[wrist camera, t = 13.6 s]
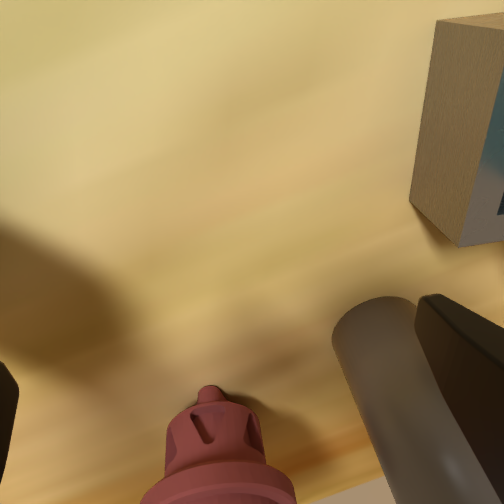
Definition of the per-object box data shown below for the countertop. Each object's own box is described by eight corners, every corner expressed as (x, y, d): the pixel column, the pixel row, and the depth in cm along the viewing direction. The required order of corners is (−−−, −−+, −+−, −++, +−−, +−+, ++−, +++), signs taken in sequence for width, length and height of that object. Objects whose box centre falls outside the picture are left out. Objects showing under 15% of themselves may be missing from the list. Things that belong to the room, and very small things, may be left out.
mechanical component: (297, 409, 33) (203, 460, 35) (224, 348, 28) (119, 412, 30) (347, 599, 23) (209, 653, 25) (247, 559, 17) (84, 632, 20)
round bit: (318, 359, 30) (393, 570, 19) (353, 291, 26) (467, 502, 16) (395, 365, 31) (503, 562, 21) (436, 301, 28) (592, 499, 17)
